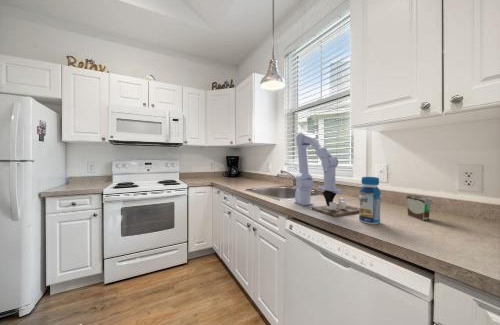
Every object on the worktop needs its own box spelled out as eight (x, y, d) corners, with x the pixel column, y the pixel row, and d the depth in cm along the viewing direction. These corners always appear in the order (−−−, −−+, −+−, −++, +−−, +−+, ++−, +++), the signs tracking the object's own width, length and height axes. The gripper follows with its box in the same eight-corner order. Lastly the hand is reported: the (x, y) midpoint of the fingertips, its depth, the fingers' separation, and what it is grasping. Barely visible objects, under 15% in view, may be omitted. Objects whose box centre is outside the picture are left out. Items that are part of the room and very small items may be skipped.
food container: (439, 222, 92) (440, 200, 91) (425, 222, 92) (426, 199, 92) (417, 214, 104) (418, 195, 104) (405, 214, 104) (405, 194, 104)
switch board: (311, 209, 114) (311, 206, 114) (339, 205, 123) (339, 203, 123) (335, 216, 99) (335, 213, 99) (364, 211, 109) (364, 209, 109)
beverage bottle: (384, 225, 87) (384, 178, 87) (362, 224, 89) (363, 178, 88) (376, 219, 95) (376, 176, 95) (356, 218, 97) (356, 176, 97)
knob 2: (338, 204, 117) (338, 198, 117) (341, 204, 118) (341, 197, 118) (341, 205, 115) (341, 198, 115) (344, 204, 117) (344, 198, 116)
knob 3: (339, 208, 109) (339, 201, 109) (342, 207, 110) (342, 200, 110) (342, 208, 107) (342, 202, 107) (345, 208, 108) (345, 201, 108)
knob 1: (329, 209, 107) (329, 202, 107) (332, 208, 108) (332, 201, 108) (332, 209, 105) (332, 202, 105) (336, 209, 106) (336, 202, 106)
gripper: (313, 178, 113) (313, 203, 113) (335, 181, 100) (334, 209, 100) (323, 178, 116) (323, 202, 116) (345, 181, 103) (344, 207, 103)
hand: (329, 205), depth 108 cm, fingers closed
